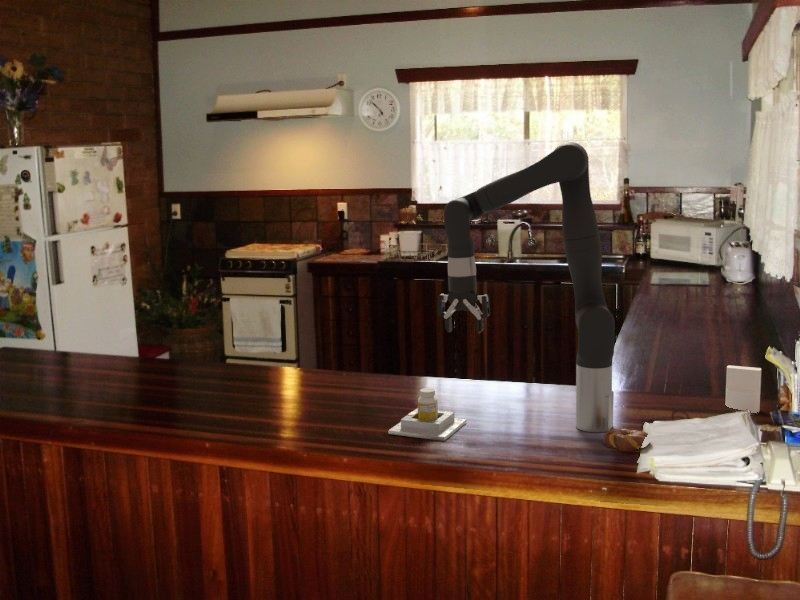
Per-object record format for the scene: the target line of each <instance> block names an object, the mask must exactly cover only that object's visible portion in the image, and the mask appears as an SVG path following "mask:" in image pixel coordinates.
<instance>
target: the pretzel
mask: <svg viewBox="0 0 800 600" xmlns="http://www.w3.org/2000/svg"><path fill="white" fill-rule="evenodd" d="M648 434H649V433H648V432H645V431H642V430H637V429H632V430H631V429H629V428H624V427H623V428H619V429H618V428H613V429H610V430H609V431H608V432H605V434H604V435H603V438H602V440H603V444H604V445H605V446H606V447H608V448H611V449H616V450H618V451H621V452H631V451H634V450H637V449H638V450H640V449H641V446H642V443H643V441H644V439H645V437H647V435H648ZM639 448H640V449H639Z"/></svg>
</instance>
